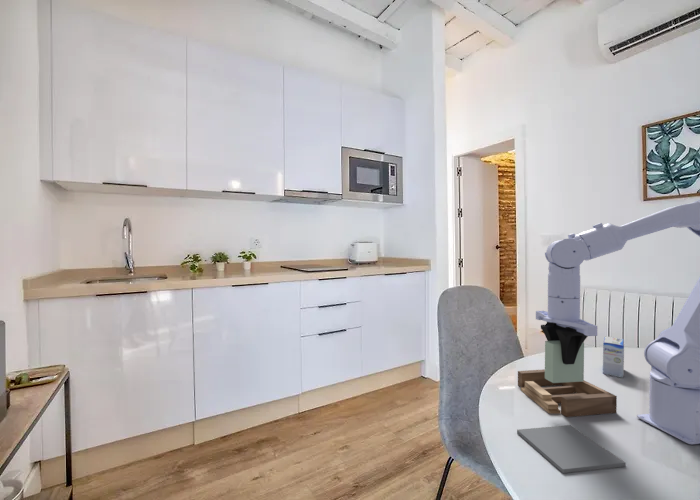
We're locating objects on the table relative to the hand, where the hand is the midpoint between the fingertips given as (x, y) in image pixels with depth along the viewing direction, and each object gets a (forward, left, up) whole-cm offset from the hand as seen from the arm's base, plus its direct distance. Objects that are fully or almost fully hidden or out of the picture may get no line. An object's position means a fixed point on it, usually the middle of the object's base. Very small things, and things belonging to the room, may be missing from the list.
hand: (563, 361), depth 70 cm
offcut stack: (+5, +2, -11) cm, 12 cm away
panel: (0, 0, -4) cm, 4 cm away
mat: (-12, +9, -10) cm, 18 cm away
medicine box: (+17, -30, -11) cm, 36 cm away
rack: (+5, -4, -10) cm, 12 cm away
